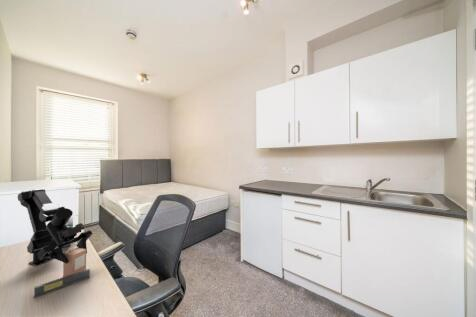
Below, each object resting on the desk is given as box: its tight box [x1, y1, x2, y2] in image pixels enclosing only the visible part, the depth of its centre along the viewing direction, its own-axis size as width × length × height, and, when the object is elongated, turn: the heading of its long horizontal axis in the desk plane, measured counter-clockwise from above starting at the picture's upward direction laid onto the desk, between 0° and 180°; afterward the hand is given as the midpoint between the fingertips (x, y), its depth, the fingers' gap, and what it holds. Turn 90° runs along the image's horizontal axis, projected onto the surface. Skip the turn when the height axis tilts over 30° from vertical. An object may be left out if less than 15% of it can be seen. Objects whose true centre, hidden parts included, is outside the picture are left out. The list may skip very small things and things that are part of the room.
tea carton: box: [62, 247, 87, 277], centre depth 81 cm, size 6×6×10 cm
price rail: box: [33, 268, 91, 299], centre depth 73 cm, size 2×16×4 cm, turn 136°
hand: (77, 258), depth 80 cm, fingers open, 7 cm apart
